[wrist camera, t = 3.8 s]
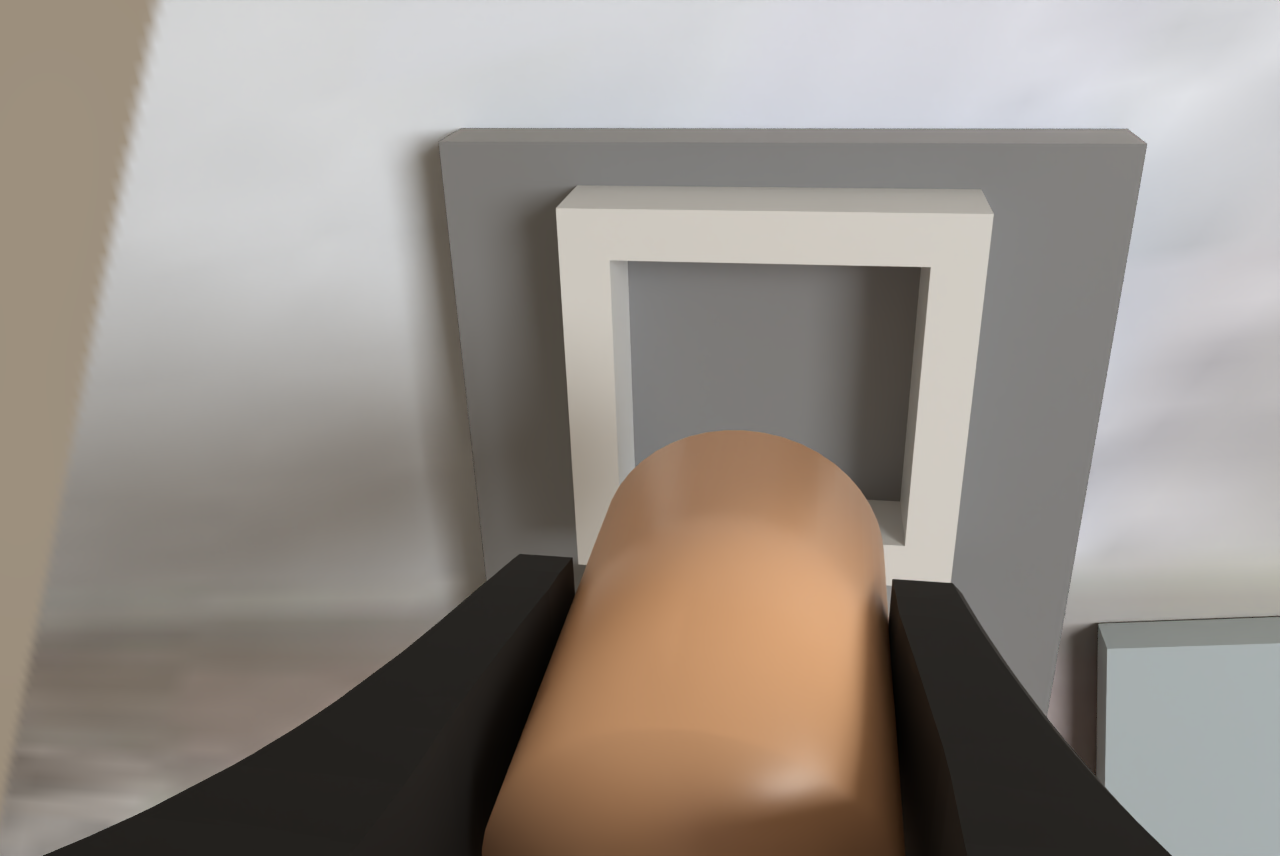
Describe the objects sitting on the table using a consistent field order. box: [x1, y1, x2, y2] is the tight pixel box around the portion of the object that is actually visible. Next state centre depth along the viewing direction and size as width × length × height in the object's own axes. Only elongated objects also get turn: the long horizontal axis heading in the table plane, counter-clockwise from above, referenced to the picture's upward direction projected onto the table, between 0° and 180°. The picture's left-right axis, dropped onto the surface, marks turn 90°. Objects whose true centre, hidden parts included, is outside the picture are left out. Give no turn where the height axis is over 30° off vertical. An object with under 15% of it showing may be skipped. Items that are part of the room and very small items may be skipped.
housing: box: [439, 128, 1147, 717], centre depth 20 cm, size 15×11×3 cm
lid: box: [1096, 617, 1280, 856], centre depth 21 cm, size 8×6×1 cm
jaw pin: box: [482, 430, 905, 856], centre depth 11 cm, size 3×3×5 cm
